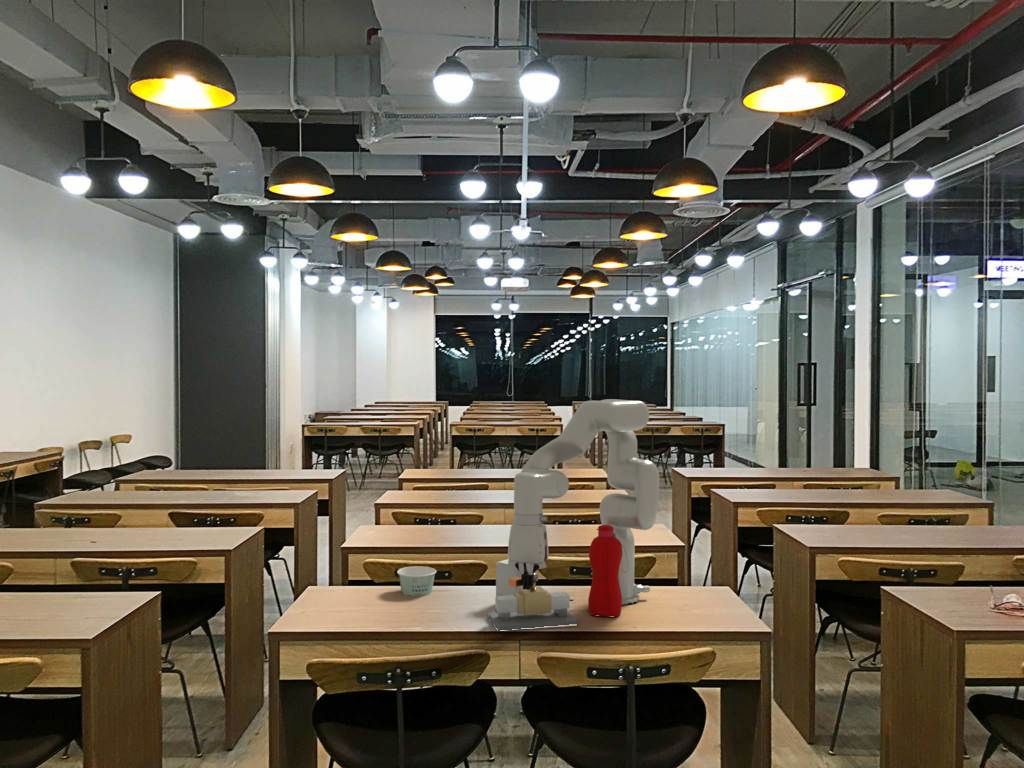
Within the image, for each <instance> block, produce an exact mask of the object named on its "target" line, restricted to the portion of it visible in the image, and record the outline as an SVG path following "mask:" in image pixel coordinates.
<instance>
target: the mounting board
mask: <svg viewBox="0 0 1024 768" xmlns="http://www.w3.org/2000/svg"><path fill="white" fill-rule="evenodd" d="M487 614H488V615H487V618H489V619H490V620H491V621H490V620H489V619H488V620H489V621H490V623H491V622H492V623H493V624H494V625H495V627H496V628H497V629H498V631H500V630H512V629H521V628H535V627H544V626H558V625H569V624H578V625H579V623H578V622H579V621H578V619H577V618H575V617H574V615H572V613H570V611H568V610H567V617H558V616H557V615H556V614H555V613H554V609H553V610H551V612H550V613H546V614H536V615H524V614H521V615H518V614H517V612H510V621H501V620H500V619H499V617H498V612H497V611H496V612H488V613H487ZM492 623H491V624H492ZM493 624H492V625H493ZM494 625H493V626H494ZM495 627H494V628H495ZM496 628H495V629H496ZM497 629H496V630H497ZM498 631H497V632H498Z"/></svg>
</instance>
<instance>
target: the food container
mask: <svg viewBox="0 0 1024 768" xmlns="http://www.w3.org/2000/svg"><path fill="white" fill-rule="evenodd" d="M396 573H397V574H398V580H399V584H400V591H401V594H402V593H403V594H402V595H404V594H405V596H408V595H412V596H411V597H423V596H427V595H431V593H432V591H433V586H434V581H435V576H436V575H435V574H436V573H437V570H436V568H433V567H430V566H420V565H419V566H417V565H414V566H407V567H406V566H405V567H401V568H399V569H398V570H396ZM422 595H423V596H422Z"/></svg>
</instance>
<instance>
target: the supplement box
mask: <svg viewBox="0 0 1024 768" xmlns="http://www.w3.org/2000/svg"><path fill="white" fill-rule="evenodd" d="M508 560H509V558H507V559H503V560H500V561H497V562H496V564H495V566H496V567H495V569H496V570H495V574H496V575H495V596H506V595H514V592H519V587H523V585H522V586H518V587H513V586H509V579H510V578H513V577H521V574H520V571H519V570H518V569H517V568H516V567H515V566H511V565H509V564H508ZM526 564H527V571H528V570H529V564H530V563H526Z"/></svg>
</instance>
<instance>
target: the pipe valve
mask: <svg viewBox="0 0 1024 768" xmlns="http://www.w3.org/2000/svg"><path fill="white" fill-rule="evenodd" d="M536 582H537V581H534V585H533V586H532V588H531V589H529V590H527V589H525V590H524V589H523V587H519V592H514V595H506V596H496V595H495V596H494V597H495V598H494V601H495V607H494V608H495V611H496V613H497V612H498V617H499V619H500V620H501V621H510V612H517V614H518V615H521V614H524V615H536V614H546V613H550V612H551V610H553V609H554V613H555V614H556V615H557V616H558V617H567V611H568V609H570V608H571V606H570V604H571V603H570V602H571V601H570V598H571V597H570V594H569V593H567V591H559V592H557V591H556V592H549V591H548V590H546V589H544V588H543V586H540V585H536V584H537V583H536Z"/></svg>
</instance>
